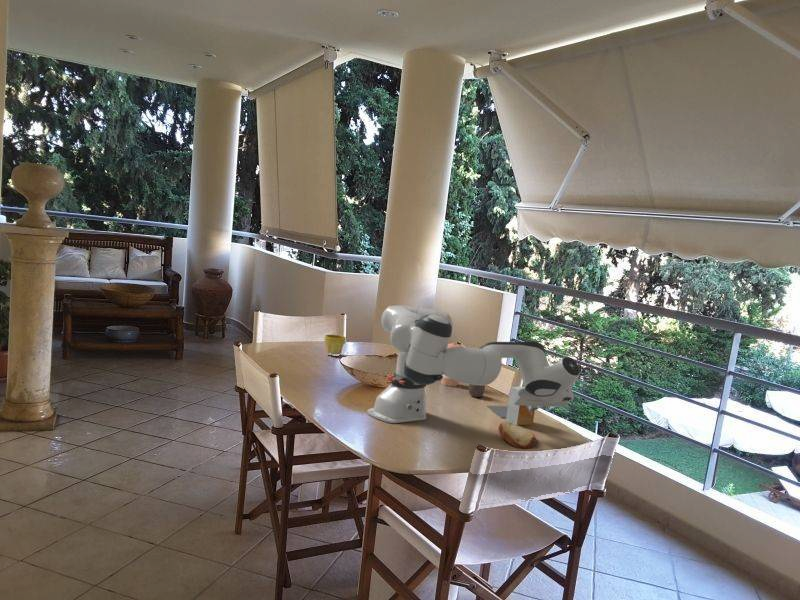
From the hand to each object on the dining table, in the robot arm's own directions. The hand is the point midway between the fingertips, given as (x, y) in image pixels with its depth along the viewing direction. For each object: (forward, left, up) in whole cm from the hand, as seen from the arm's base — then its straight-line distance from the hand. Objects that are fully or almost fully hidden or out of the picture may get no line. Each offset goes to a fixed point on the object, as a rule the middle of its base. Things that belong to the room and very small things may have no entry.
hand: (532, 408), depth 212 cm
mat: (+9, +16, -8) cm, 20 cm away
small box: (+3, +6, -8) cm, 11 cm away
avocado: (+16, +37, -8) cm, 41 cm away
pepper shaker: (+20, +55, -8) cm, 59 cm away
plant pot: (+4, +118, -8) cm, 118 cm away
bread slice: (-13, -2, -9) cm, 15 cm away
